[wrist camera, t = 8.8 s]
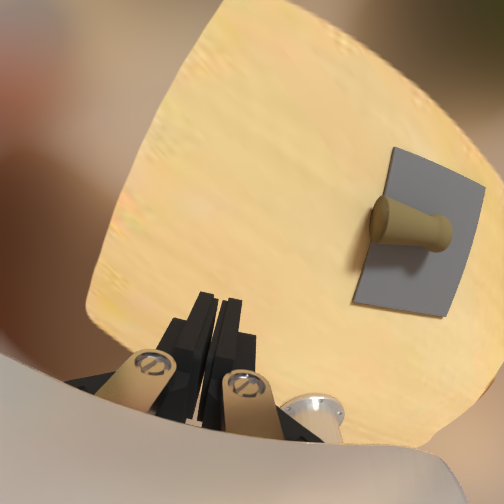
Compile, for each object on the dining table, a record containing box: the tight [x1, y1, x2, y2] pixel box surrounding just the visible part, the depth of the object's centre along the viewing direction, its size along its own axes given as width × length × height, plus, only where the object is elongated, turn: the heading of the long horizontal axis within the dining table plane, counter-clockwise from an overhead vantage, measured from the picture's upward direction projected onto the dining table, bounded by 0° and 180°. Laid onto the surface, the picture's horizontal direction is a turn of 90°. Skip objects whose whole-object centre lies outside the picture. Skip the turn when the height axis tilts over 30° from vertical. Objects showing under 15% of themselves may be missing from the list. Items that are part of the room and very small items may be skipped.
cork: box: [370, 195, 453, 253], centre depth 34 cm, size 6×6×11 cm
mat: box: [353, 147, 486, 317], centre depth 37 cm, size 22×18×1 cm
